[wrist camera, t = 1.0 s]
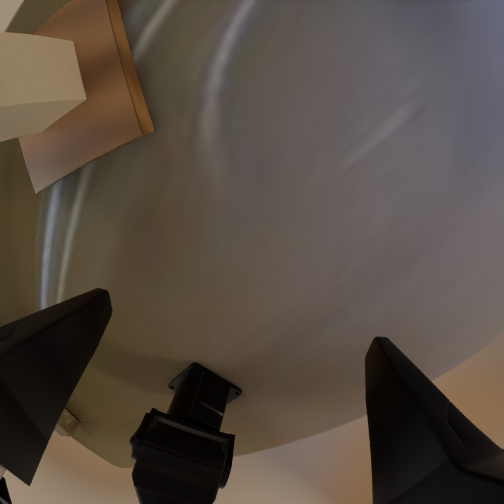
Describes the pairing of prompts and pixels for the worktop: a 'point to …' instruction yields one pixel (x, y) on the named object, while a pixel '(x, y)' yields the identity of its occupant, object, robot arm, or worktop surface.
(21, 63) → the cream box
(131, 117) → the wooden base plate
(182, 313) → the worktop surface
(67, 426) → the stone block
